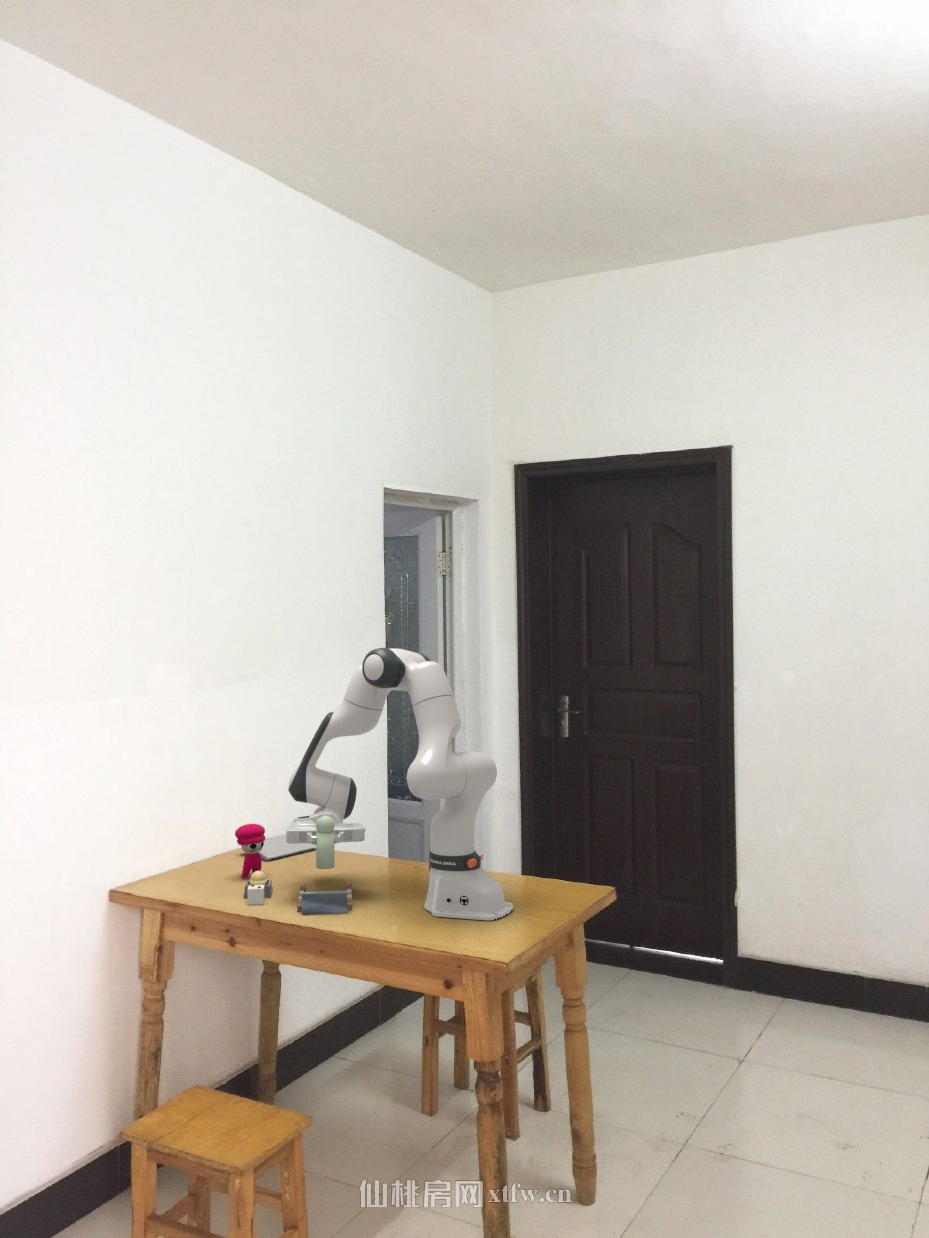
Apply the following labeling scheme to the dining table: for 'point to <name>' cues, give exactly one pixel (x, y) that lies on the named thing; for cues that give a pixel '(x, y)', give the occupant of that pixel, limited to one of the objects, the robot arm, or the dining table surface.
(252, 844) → the toy
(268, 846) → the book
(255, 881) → the dome
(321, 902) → the track
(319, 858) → the pawn
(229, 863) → the dining table surface
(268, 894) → the base
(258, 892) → the die
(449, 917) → the robot arm
